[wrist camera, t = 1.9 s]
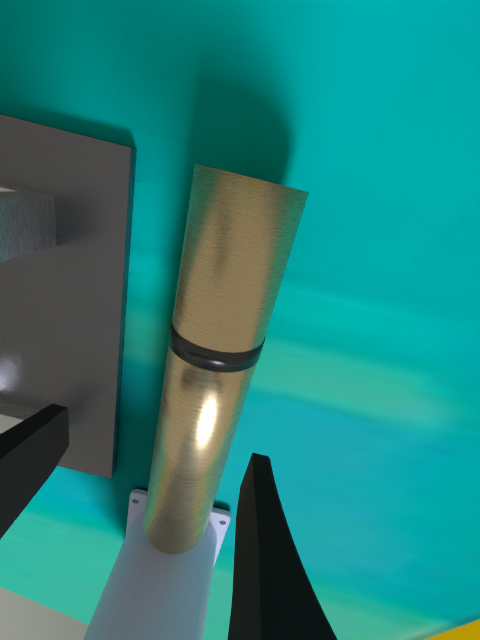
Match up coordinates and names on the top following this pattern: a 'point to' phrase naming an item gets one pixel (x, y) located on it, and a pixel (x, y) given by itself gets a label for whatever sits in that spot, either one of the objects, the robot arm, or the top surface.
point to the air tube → (215, 342)
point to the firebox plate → (64, 283)
